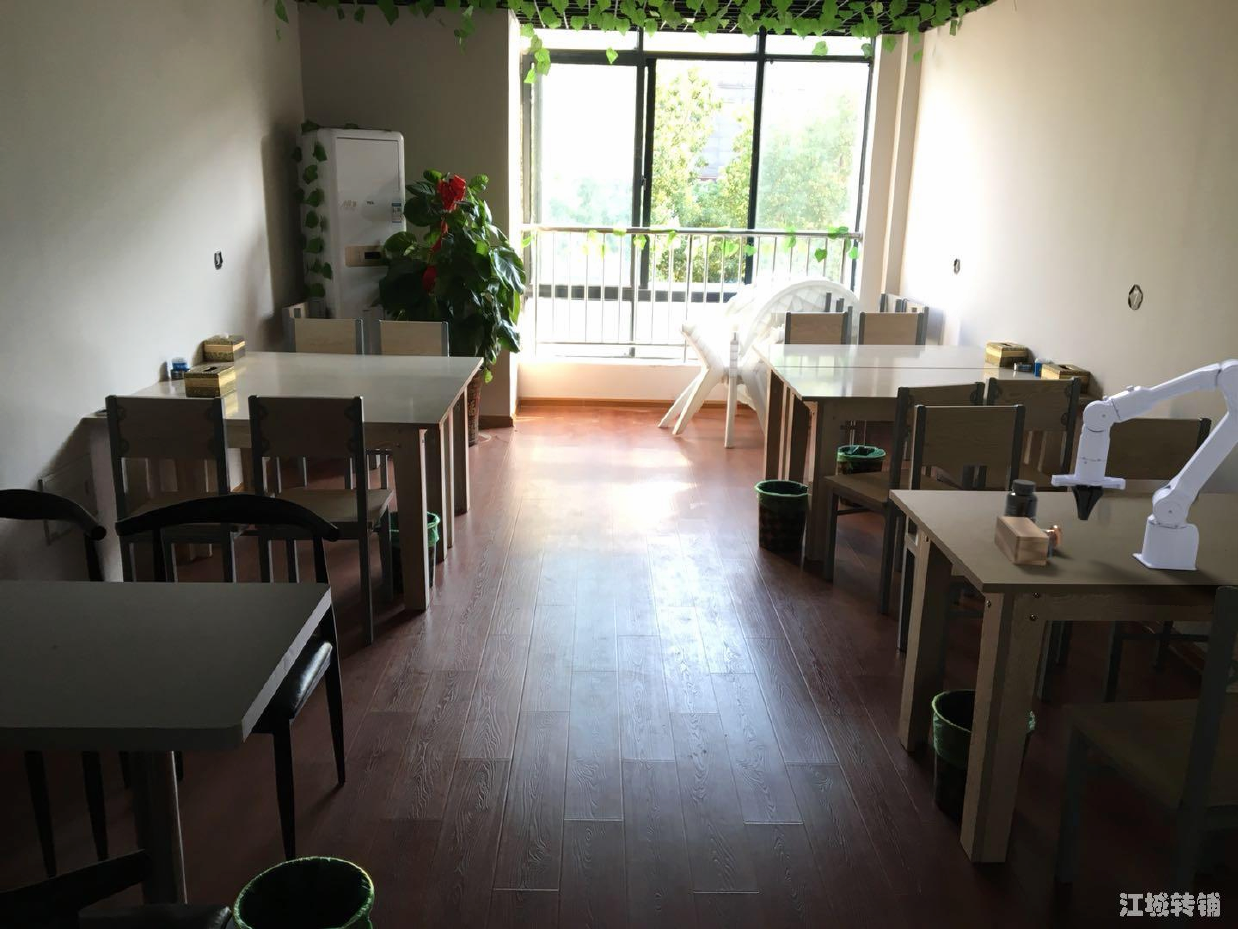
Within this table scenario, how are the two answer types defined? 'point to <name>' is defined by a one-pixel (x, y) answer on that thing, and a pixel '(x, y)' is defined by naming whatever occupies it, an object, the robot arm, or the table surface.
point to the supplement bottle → (1022, 500)
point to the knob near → (1050, 547)
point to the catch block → (1021, 540)
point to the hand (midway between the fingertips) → (1082, 519)
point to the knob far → (1054, 534)
